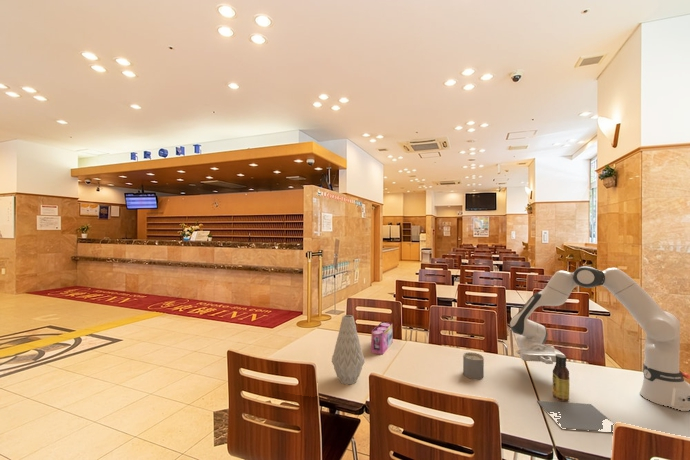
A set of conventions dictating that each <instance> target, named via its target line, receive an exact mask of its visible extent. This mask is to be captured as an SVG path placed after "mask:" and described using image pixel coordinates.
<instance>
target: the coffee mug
mask: <svg viewBox="0 0 690 460" xmlns="http://www.w3.org/2000/svg"><path fill="white" fill-rule="evenodd" d="M462 357H463V359H462V360H463V362H462V363H463V366H462V367H463V369H462V371H463V372H462V373H463V376H465V377H466V378H468V379H471V380H482V379H484V377H485V375H484V374H485V371H484V370H485V369H484V368H485V367H484V363H485V361H484V360H485V358H484V355H482V354H479V353H476V352H470V351H469V352H465V353H463V355H462Z"/></svg>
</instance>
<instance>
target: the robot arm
mask: <svg viewBox="0 0 690 460" xmlns="http://www.w3.org/2000/svg"><path fill="white" fill-rule="evenodd" d="M599 286H601V287H604V288H605V289H607V291H609V293H610V294H611V295H612V296H613V297H614V298H615V299H616V300H617V301H618V302H619V303H620V304H621V305H622V306H623V307H624V308H625V309H626V310H627V312H628V313H629V314H630V315H631V317H632V318H633V319H634V320H635V321H636V323H637V324H638V325H639V326H640V328H641V329H642V330H643V332H644V333H645V338H644V363H643V365H642V368H643V369H642V373H643V381H642V385H641V388H640V391H639V395H640V394H641V395H642V396H643V397H642V396H641V395H640V396H641V397H642V398H644V399H646V400H647V399H648V400H647V401H649V400H650V402H652V403H654V404H657V405H660V406H663V405H664V407H667V406H669V407H668V408H670V407H672V408H671V409H673V408H675V409H674V410H676V409H678V410H677V411H679V410H681V411H680V412H690V411H689V410H690V383H689V382H688V381H686V380H685V379H689V380H690V373H687V372H682V371H680V352H681V351H680V349H681V348H680V345H681V339H680V338H681V323H680V321H679V319H678V318H677V316H675V315H674V313H673V314H672V313H671V312H669V311H666V310H663V309H662V307H660V306H659V304H658V303H657V302H656V300H655V299H654V298H653V297H652V296H651V295H650V294H649V293H648V292H647V291H646V290H645V289H644V288H643V287H642V286H641V285H639V283H638V282H636V281H635V280H634V279H633V278H632V277H631V276H629V274H628V273H626V272H624V271H623V270H622V269H620V268H618V267H608V268H606V269H604V270H600V269H596V268H594V267H592V266H587V265H584V266H579V267H578V268H576V269H575V270H574V271H573V272H571V271H566V270H557V271H556V272H555V273H554V274H553V275H552V277H550V279H549V280H548V282H547V284H546V286H545V287H544V288H543V289H542V290H540V291H538V292H534V293H533V294H532V295H531V297H529V299H528V300H527V301H526V303H525V304H524V305H523V306H522V307H521V308H520V310H519V311H518V312H517V313H516V314H515V315H514V316H513V317H512V318H511V320H510V321H509V326H510V329H511V331H512V332H513V333H514V334H517V335H518V336H516V340H515V342H516V345H517V347H518V350H516V351H515V352H516V354H518V356H519V357H520V359H521V360H522V361H524V362H537V363H538V362H540V363H544V364H547V365H553V364H554V363H556V354H562V355H565V354H564V353H563V352H561V351H560V350H559V349H556V348H555V347H554V346H552V345H548V344H545V343H546V341H547V339H548V335H549V334H548V330H547V328H546V326H545V325H542V324H541V323H538V322H536V321H533V320H531V319H529V318H530V317H531V315H532V313H534V311H535V310H536V309H537V308H539V307H543V306H544V307H545V306H546V307H547V306H548V307H558V306H562V305H564V304H565V303H566V302H567V301H568V299H569V297H570V295H571V294H572V291H573V290H574V289H575V288H576V287H582V288H585V289H593V288H595V287H599ZM684 378H685V379H684Z"/></svg>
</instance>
